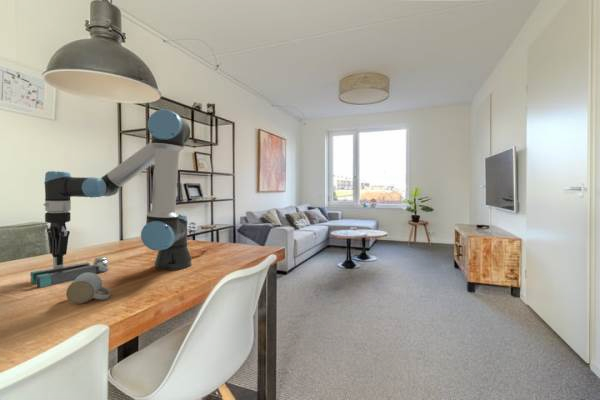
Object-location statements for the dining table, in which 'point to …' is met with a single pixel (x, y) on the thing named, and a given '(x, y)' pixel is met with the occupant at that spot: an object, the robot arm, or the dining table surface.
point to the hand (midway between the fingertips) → (58, 272)
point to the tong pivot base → (71, 274)
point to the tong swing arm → (60, 269)
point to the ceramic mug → (86, 289)
